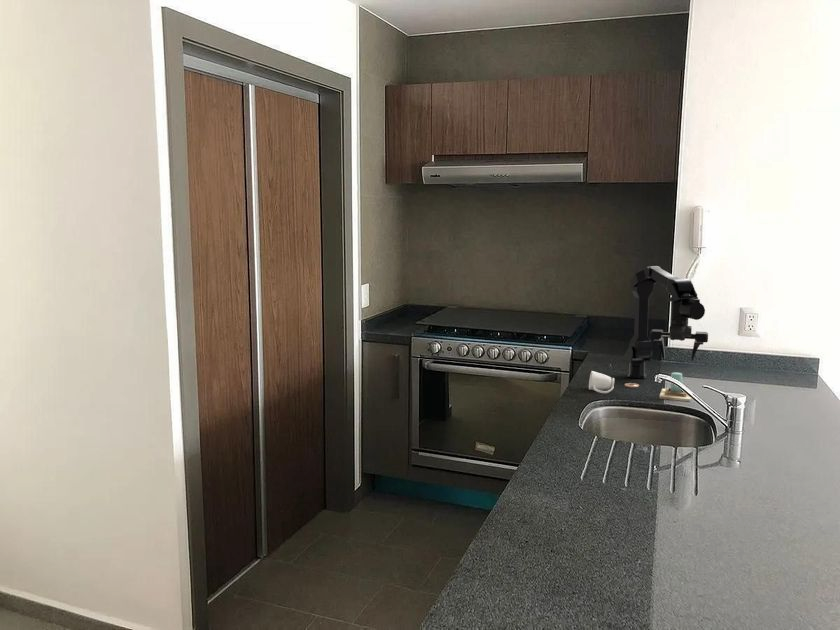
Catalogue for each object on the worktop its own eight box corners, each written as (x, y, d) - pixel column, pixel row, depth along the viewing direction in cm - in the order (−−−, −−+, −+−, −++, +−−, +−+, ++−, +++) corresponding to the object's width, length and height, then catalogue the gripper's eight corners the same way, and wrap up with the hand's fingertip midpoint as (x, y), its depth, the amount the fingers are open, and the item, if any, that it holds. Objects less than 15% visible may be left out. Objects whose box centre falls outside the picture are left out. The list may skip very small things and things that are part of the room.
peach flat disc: (625, 383, 262) (625, 382, 262) (639, 384, 260) (639, 383, 260) (623, 386, 257) (623, 385, 257) (637, 387, 255) (637, 386, 255)
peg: (670, 391, 246) (671, 372, 245) (681, 392, 244) (682, 373, 243) (670, 394, 242) (670, 374, 241) (681, 395, 241) (682, 375, 240)
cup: (614, 370, 254) (592, 366, 255) (616, 385, 245) (592, 382, 246) (610, 386, 257) (588, 382, 258) (612, 402, 249) (588, 398, 250)
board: (662, 390, 251) (662, 385, 251) (692, 393, 247) (692, 388, 247) (659, 398, 240) (659, 393, 240) (690, 401, 236) (690, 396, 236)
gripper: (648, 317, 239) (647, 362, 241) (708, 320, 231) (705, 366, 233) (652, 313, 249) (650, 356, 251) (709, 315, 241) (707, 360, 243)
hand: (677, 360), depth 244 cm, fingers open, 9 cm apart
